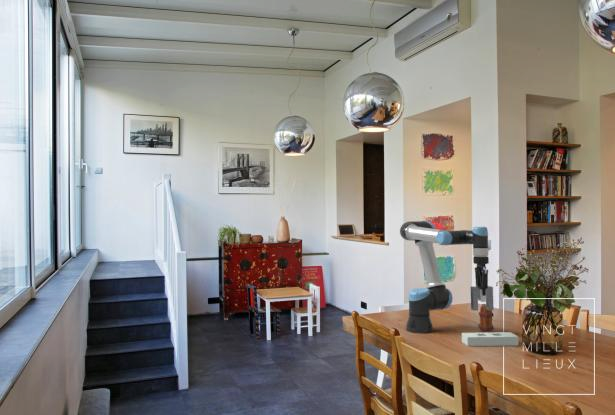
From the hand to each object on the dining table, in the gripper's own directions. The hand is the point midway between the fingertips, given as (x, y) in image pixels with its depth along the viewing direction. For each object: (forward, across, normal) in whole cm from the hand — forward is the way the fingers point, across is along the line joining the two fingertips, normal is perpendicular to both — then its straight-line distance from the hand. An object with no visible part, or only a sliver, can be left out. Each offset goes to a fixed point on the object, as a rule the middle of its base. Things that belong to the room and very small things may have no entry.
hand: (482, 301), depth 260 cm
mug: (+21, +22, -9) cm, 32 cm away
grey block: (+5, 0, 0) cm, 5 cm away
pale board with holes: (+21, -2, -2) cm, 22 cm away
